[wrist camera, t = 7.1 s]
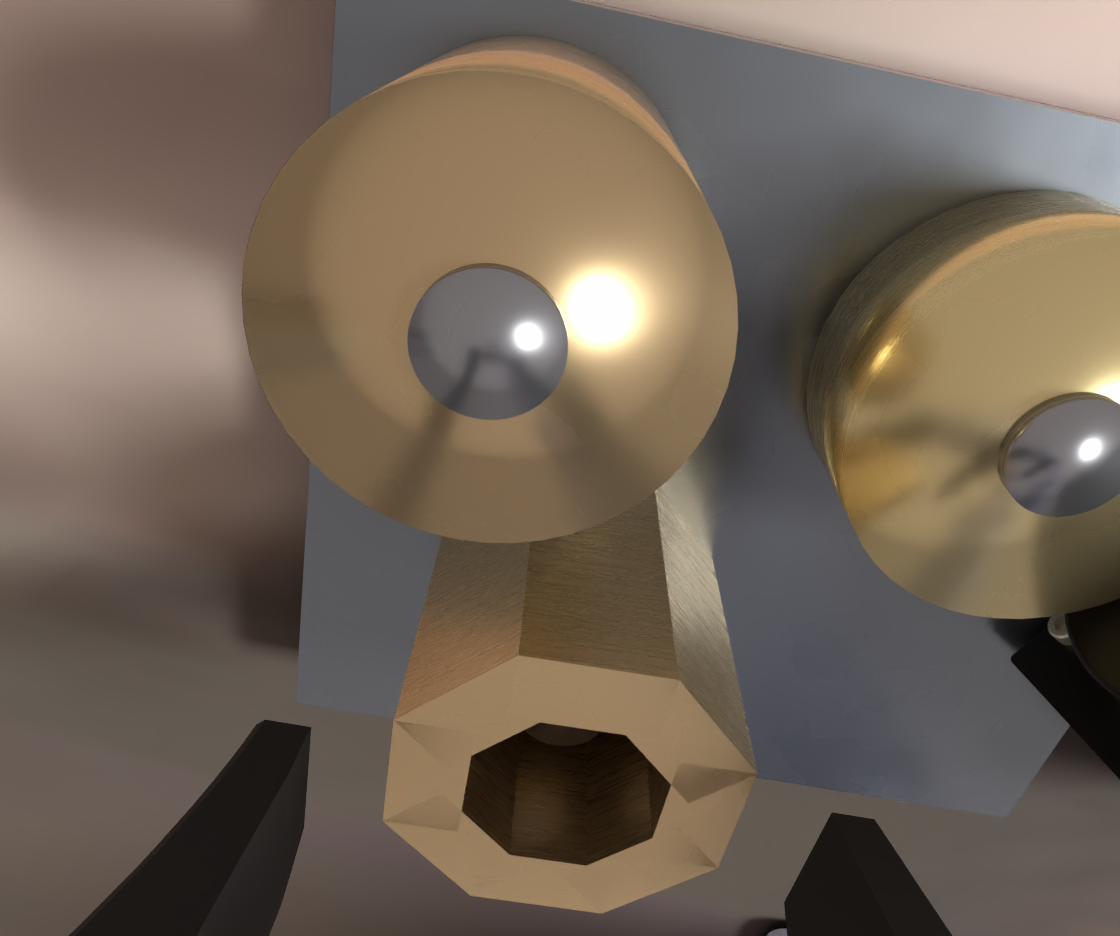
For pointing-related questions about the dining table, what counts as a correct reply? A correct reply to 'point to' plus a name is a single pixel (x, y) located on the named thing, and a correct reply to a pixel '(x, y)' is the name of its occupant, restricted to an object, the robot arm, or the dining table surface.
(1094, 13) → the dining table surface
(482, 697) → the tan hollow octagonal prism
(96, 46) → the dining table surface
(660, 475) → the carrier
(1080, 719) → the pneumatic valve
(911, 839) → the dining table surface
